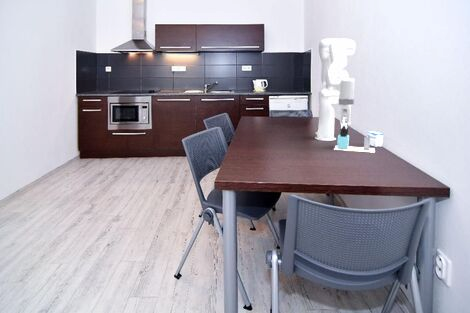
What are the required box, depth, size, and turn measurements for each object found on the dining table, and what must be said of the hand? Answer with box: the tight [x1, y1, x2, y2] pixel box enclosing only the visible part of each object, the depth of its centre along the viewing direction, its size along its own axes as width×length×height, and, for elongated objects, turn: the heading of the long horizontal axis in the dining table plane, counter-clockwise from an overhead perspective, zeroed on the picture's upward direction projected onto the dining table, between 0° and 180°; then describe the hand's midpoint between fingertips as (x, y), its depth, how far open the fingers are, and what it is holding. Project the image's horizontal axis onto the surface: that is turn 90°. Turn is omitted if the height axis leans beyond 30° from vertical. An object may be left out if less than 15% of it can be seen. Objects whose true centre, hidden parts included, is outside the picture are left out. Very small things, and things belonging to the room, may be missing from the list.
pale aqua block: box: [336, 134, 350, 149], centre depth 200 cm, size 5×5×7 cm
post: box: [363, 135, 371, 150], centre depth 196 cm, size 3×3×7 cm
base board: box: [333, 145, 376, 153], centre depth 199 cm, size 20×12×2 cm, turn 71°
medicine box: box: [366, 131, 384, 148], centre depth 209 cm, size 8×4×9 cm, turn 21°
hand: (344, 135), depth 198 cm, fingers open, 9 cm apart
